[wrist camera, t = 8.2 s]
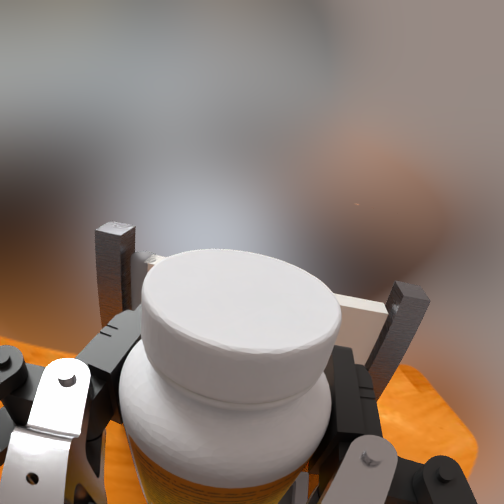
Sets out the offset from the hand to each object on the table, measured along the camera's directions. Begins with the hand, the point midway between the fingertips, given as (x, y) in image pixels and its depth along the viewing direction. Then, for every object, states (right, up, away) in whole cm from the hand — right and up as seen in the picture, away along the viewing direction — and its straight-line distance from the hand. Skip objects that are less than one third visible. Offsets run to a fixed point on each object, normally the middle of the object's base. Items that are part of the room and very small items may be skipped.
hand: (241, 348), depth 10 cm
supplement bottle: (-1, -7, 0) cm, 7 cm away
